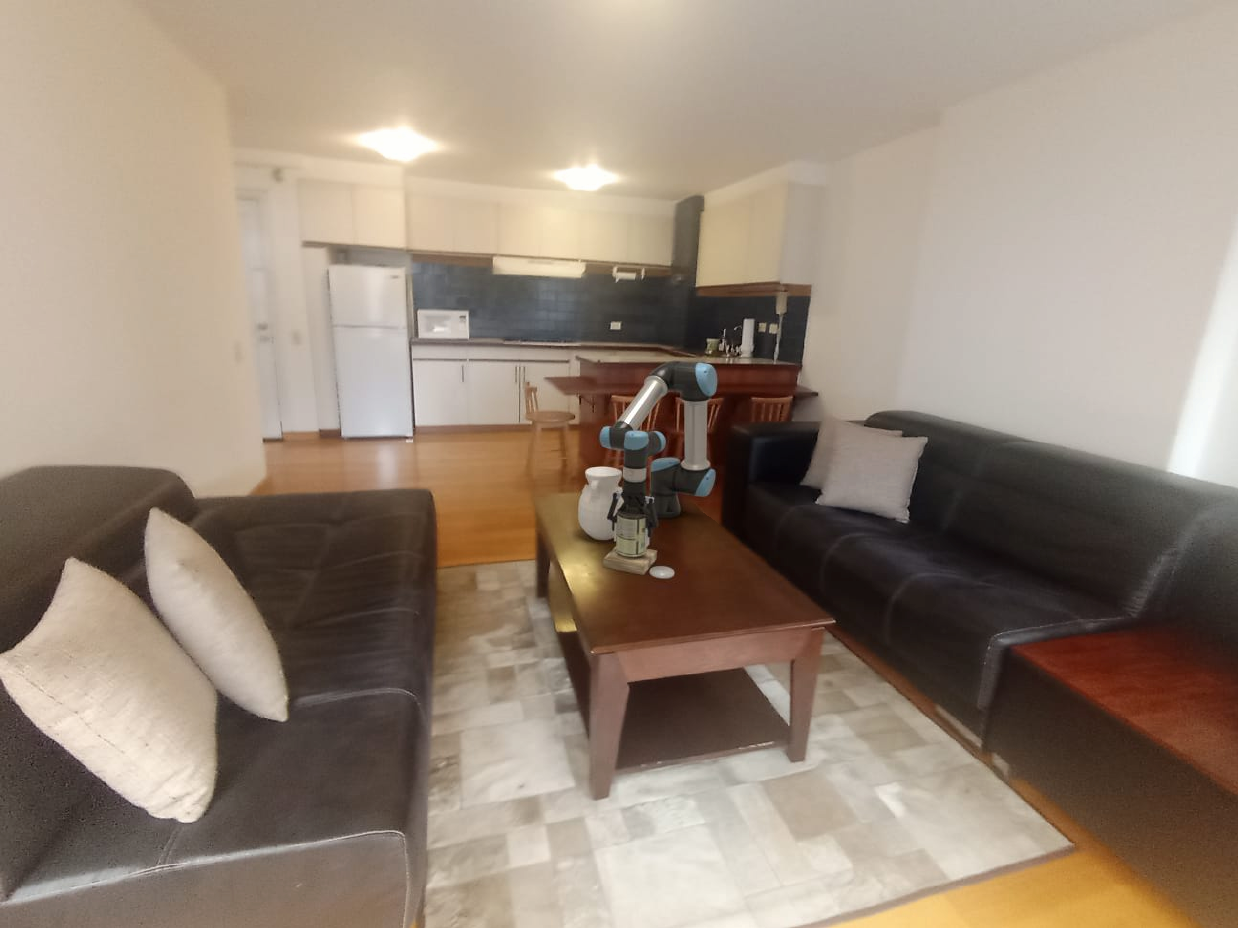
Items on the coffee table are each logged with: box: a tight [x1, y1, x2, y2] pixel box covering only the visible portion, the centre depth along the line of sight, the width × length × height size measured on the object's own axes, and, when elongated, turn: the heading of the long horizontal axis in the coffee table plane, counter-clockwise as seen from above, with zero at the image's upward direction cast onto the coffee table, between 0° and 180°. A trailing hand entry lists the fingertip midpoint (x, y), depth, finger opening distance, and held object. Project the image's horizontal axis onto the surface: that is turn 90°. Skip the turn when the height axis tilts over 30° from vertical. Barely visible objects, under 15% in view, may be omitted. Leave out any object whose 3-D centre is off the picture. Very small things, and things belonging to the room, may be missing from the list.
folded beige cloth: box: [602, 546, 658, 576], centre depth 194 cm, size 14×14×3 cm
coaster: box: [649, 565, 675, 579], centre depth 187 cm, size 8×8×1 cm
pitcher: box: [577, 466, 624, 541], centre depth 213 cm, size 19×18×25 cm
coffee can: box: [615, 506, 649, 557], centre depth 191 cm, size 10×10×14 cm
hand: (631, 542), depth 192 cm, fingers closed on coffee can, 10 cm apart
